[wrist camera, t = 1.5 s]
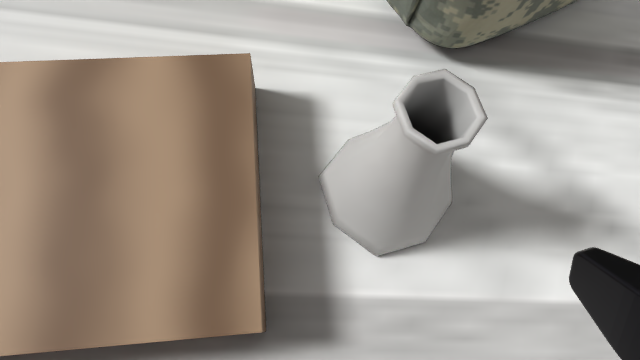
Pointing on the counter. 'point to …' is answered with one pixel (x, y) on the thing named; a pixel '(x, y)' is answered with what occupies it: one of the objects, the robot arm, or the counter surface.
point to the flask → (403, 165)
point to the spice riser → (128, 202)
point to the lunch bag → (470, 18)
